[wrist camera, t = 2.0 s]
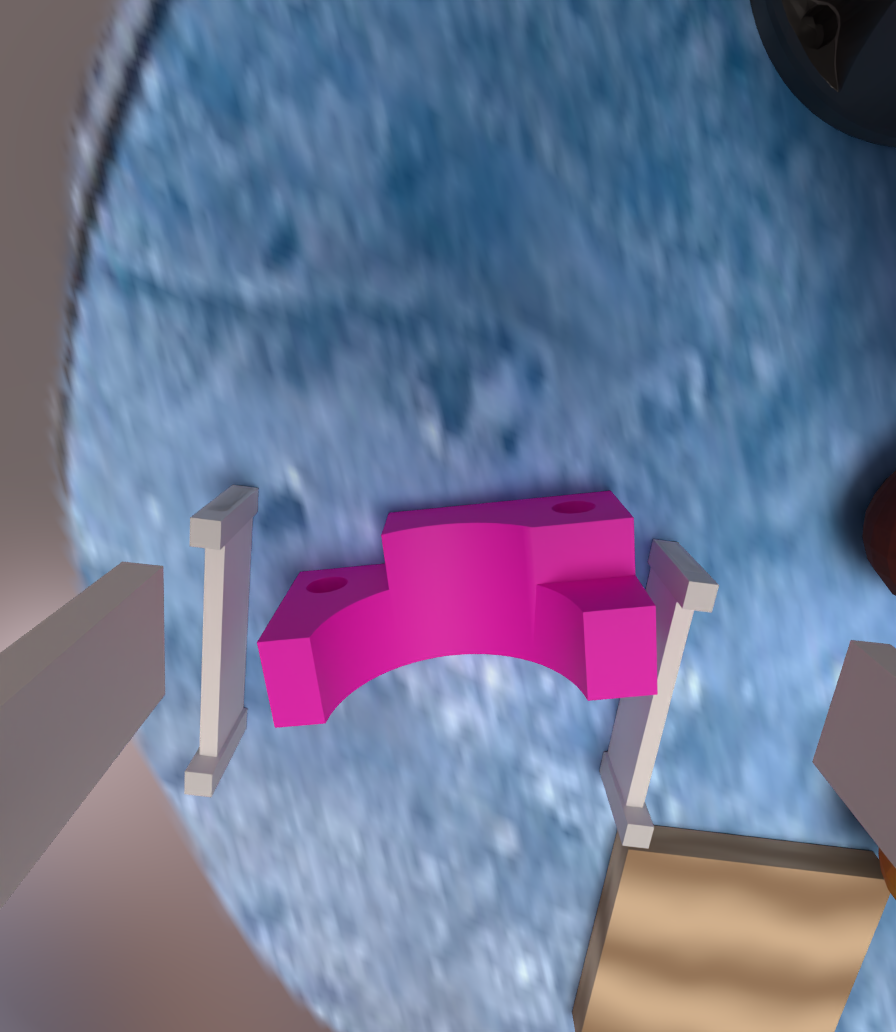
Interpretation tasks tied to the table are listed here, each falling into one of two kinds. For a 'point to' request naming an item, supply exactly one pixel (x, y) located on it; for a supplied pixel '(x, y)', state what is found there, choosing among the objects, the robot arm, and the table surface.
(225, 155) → the table surface
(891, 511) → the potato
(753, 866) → the board
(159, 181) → the table surface
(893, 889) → the cheeseburger
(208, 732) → the grey bracket pieces
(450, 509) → the toy block
